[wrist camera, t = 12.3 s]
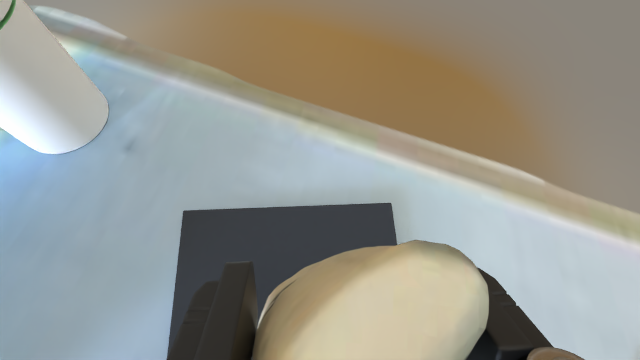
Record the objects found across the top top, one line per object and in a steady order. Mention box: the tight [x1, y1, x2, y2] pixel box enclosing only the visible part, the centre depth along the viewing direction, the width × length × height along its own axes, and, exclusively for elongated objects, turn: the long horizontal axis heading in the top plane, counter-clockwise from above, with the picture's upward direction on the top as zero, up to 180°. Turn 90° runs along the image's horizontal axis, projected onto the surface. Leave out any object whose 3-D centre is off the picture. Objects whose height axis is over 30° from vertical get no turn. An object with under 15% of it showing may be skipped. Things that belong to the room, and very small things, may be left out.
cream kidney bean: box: [253, 240, 489, 360], centre depth 10 cm, size 6×5×8 cm
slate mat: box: [167, 203, 397, 360], centre depth 23 cm, size 16×20×1 cm
